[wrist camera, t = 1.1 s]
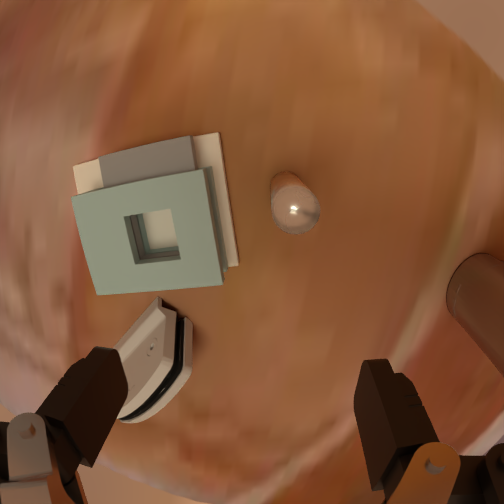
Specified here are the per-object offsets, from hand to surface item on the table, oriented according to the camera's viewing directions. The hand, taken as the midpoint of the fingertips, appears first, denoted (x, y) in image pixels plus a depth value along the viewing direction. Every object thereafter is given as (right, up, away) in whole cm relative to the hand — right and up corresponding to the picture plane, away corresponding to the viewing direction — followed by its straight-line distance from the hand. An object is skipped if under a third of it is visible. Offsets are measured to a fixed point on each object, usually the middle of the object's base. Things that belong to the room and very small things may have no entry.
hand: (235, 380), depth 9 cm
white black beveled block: (-13, -9, +28) cm, 32 cm away
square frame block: (-10, +8, +22) cm, 25 cm away
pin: (+4, +10, +20) cm, 23 cm away
